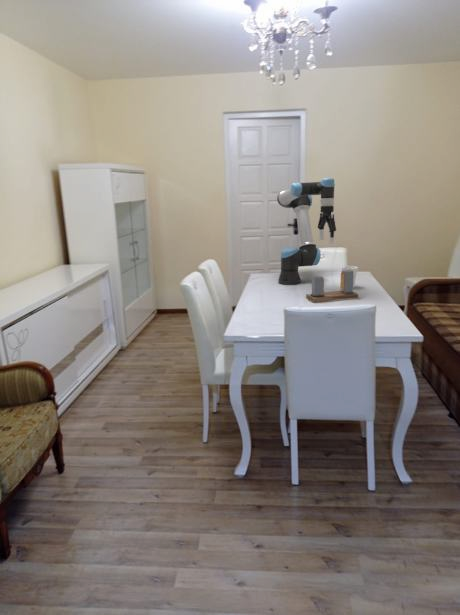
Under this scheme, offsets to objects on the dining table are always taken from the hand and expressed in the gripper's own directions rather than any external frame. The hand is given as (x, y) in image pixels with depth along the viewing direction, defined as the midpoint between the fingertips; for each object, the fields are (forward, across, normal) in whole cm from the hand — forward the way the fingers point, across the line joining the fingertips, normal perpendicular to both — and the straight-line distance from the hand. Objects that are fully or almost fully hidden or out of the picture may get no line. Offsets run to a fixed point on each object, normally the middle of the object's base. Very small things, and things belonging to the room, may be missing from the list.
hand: (326, 241), depth 261 cm
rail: (+31, +18, -4) cm, 36 cm away
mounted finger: (+28, +18, +5) cm, 34 cm away
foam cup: (+31, -3, +18) cm, 36 cm away
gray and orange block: (+30, +18, -13) cm, 37 cm away
